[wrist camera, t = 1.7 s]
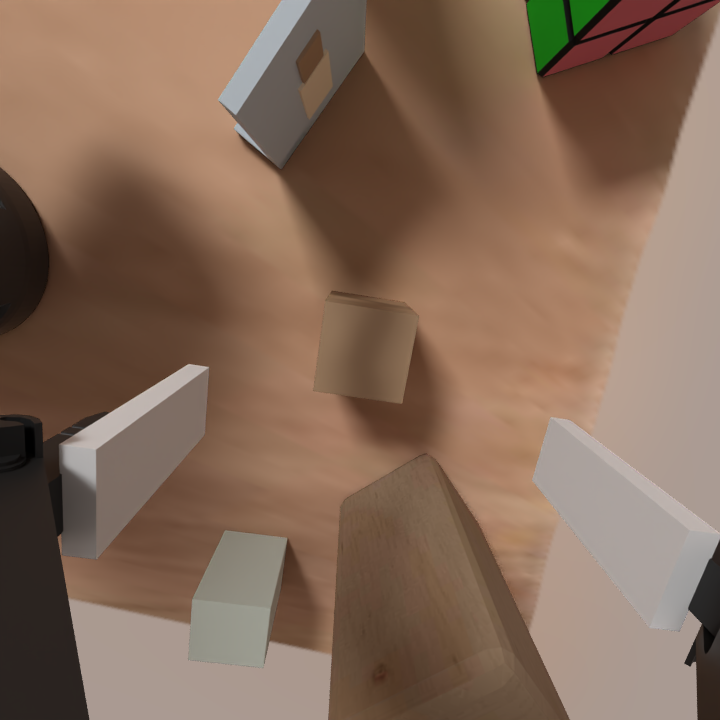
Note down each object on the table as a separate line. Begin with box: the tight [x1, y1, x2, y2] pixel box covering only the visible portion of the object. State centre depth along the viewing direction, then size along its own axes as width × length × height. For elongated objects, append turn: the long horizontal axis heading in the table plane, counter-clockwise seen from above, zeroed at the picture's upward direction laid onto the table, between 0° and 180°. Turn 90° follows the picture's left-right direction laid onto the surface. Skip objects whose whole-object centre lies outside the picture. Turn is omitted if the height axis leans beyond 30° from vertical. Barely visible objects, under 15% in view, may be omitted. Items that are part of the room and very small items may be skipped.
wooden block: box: [328, 454, 570, 720], centre depth 28 cm, size 10×10×20 cm
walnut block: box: [313, 291, 419, 404], centre depth 30 cm, size 6×6×8 cm
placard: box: [218, 0, 367, 169], centre depth 23 cm, size 4×10×12 cm, turn 141°
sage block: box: [188, 530, 287, 668], centre depth 35 cm, size 6×6×8 cm
